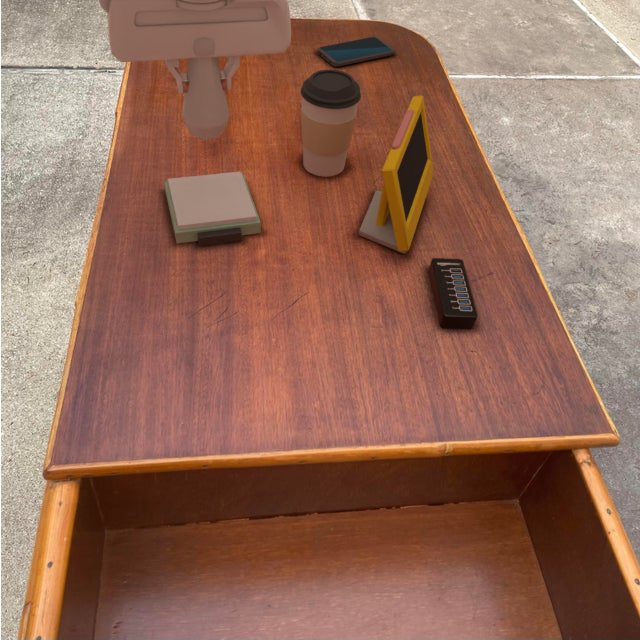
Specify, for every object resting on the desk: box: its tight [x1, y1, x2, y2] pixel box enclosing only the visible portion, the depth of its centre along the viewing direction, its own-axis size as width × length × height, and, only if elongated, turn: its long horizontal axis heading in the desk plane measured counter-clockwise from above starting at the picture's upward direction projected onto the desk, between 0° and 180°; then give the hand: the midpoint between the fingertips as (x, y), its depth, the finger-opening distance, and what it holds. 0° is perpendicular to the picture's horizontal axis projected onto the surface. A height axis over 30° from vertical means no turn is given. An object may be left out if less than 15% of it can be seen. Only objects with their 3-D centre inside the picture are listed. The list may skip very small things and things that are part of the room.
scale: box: [163, 171, 262, 247], centre depth 93 cm, size 12×13×3 cm
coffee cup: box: [300, 68, 362, 178], centre depth 100 cm, size 9×9×15 cm
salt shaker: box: [181, 37, 231, 141], centre depth 76 cm, size 6×6×13 cm
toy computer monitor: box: [358, 94, 435, 255], centre depth 91 cm, size 20×8×16 cm, turn 163°
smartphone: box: [317, 36, 395, 68], centre depth 133 cm, size 8×15×1 cm, turn 121°
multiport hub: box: [428, 257, 479, 330], centre depth 86 cm, size 4×11×2 cm, turn 2°
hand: (204, 89), depth 77 cm, fingers closed on salt shaker, 3 cm apart
